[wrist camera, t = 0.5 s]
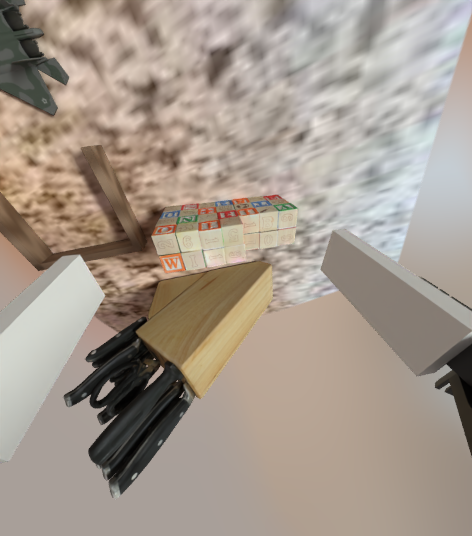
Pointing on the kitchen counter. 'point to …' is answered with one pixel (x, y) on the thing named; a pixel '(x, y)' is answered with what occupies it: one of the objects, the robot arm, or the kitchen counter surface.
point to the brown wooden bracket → (33, 248)
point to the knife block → (168, 362)
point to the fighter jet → (25, 60)
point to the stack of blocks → (222, 231)
